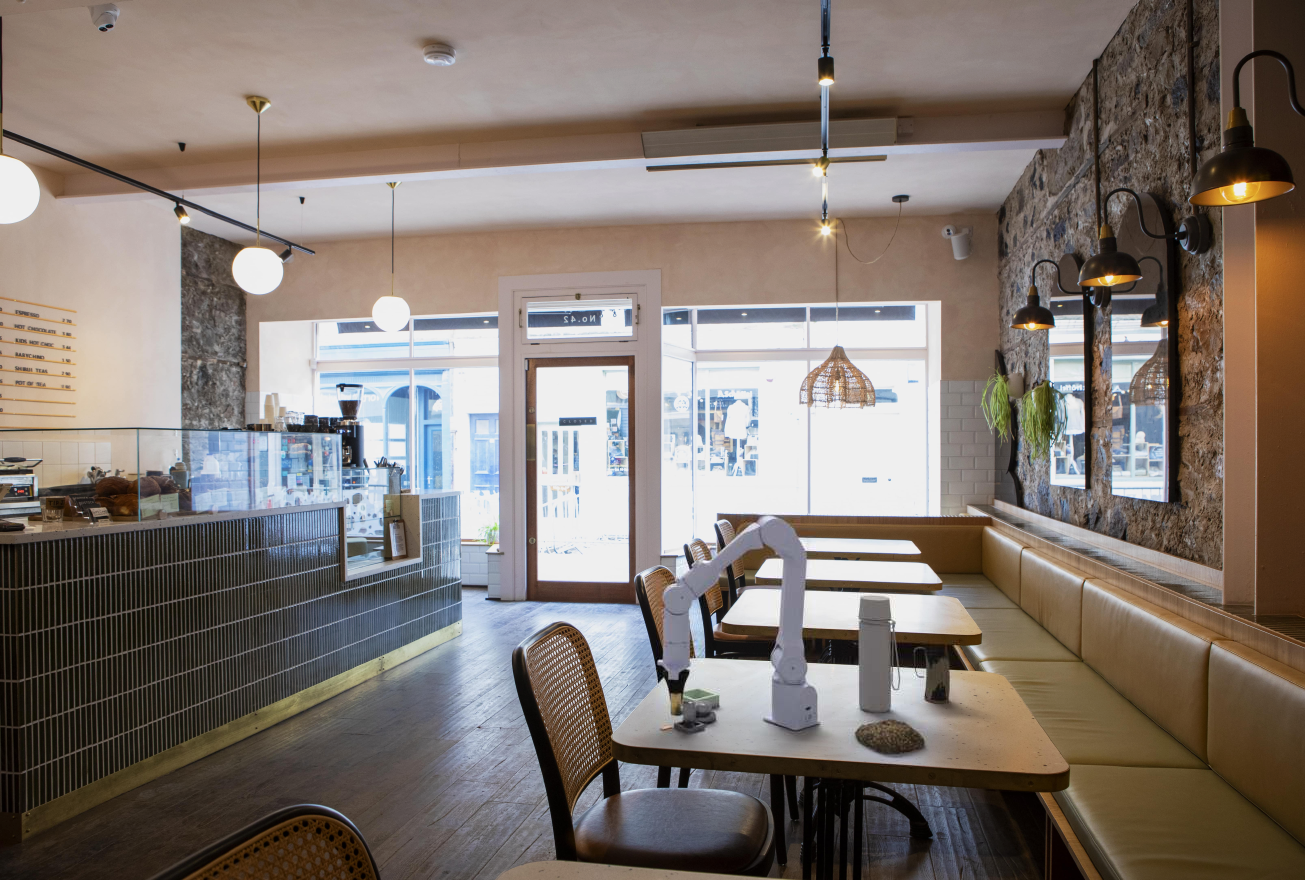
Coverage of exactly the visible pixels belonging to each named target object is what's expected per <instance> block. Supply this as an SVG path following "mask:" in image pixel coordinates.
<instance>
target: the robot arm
mask: <svg viewBox="0 0 1305 880" xmlns="http://www.w3.org/2000/svg"><path fill="white" fill-rule="evenodd" d="M763 544H765V545H766V546H767V547H770V548H771V549H772V550H773V551H774V553H776V554H777V555H778V556H779V557H780V558H781V559H782V561H783V563H782V575H781V577H782V578H781V590H780V591H781V594H780V608H779V624H778V633H777V636H776V639H775V646H774V648H773V650H772V651H771V653H770V663H771V665H772V667H773V668H774V669H775V670H774V672H773V674H772V675H771V714H770V715H766V716H763V717H762V719H763V720H764V721H766V722H770V723H772V724H775V725H779V726H780V727H781V726H782V727H784V728H787V729H789V730H793V731H798V730H802V729H806V728H809V727H811V726H812V727H813V726H815V725H819V724H820V723H821V721H820V720H818V692H817V689H816V688H815V687H814V686H813V685H811V684H809V683H808V681H807V679H806V675H807V673H808V670H809V669H808V668H809V667H808V662H807V660H806V658H805V645H804V639H803V625H804V609H805V608H804V607H805V592H806V591H805V590H806V577H807V564H808V563H807V562H808V560H807V559H808V554H807V551H806V549H805V547H804V546H803V543H802V542H801V539H800V538H799V536H798V535H797V533H796V530H795V528H794V527H792V526H791V525H790V524H789V523H788V522H786V521H785V520H784V519H782V518H778V517H777V516H774V515H771V514H767V515H763V516H762V517H759V519H758V520H757V521H756V522H753V523H751V524H750V525H748V526H747V527H746V528H745V529H744V530H742V531H741V532H740V533H739V534H738V535H737V536H735V538H733V539H732V540H731V541H730V542H729V543H728V544H727V545H726V546H724V548H722V549H721V550H720V551H719V552H718V553H717V554H716V555H714V557H713V558H712V559H710V560H704V559H703V560H700V561H699V562H697V561H694V562H693V563H692V564H691V569H689V570H688V571H687V572H686V573H684V574H683V575H682V576H681V577H676V578H675V579H674V581H675V583H672V584H669V585H667V587H665V588H664V591H663V594H662V596H661V598H662V599H661V600H662V602H663V604H664V611H663V617H664V618H663V621H662V622H663V625H662V631H663V632H662V635H663V636H662V642H663V643H662V651H663V652H662V659H659V660H657V665H658V666H662V667H663V668H664V670H663V671H662V676H663V679H664V681H665V683H666V686H667V690H668V695H669V700H670V703H671V693H672V692H680V693H681V703H682V699H683V692H684V691H685V687H686V683H687V681H688V679H689V676H690V673H691V669H689V668H690V667H691V666H692V665H691V659H690V658H691V656H690V655H691V650H690V649H691V646H690V645H691V633H690V632H691V620H690V609H691V607H692V603H693V601H696V600H698V599H699V598H700V597H701V596H702V595H704V594H705V593H707V591H708V590H710V589H711V588H712V587H713V586H714V585H716V583H718V582H719V580H720V573H721V572H722V571H723V570H725V569H726V568H727V567H729V566H730V565H731V564H733V562H735V561H736V560H737V559H739V558H740V557H742V555H744V554H745V553H746V552H748V551H751V550H759V549H760V550H761V549H764V545H763Z"/></svg>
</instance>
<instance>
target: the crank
mask: <svg viewBox="0 0 1305 880" xmlns="http://www.w3.org/2000/svg"><path fill="white" fill-rule="evenodd" d="M694 701H695V702H696V716H708V715H710V714H711V711H712V708H711V702H709V701H704V700H694ZM670 715H671V716H675V717H676V716H677V717H681V716H683V706H681V693H680V692H672V693H671V702H670Z"/></svg>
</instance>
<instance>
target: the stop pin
mask: <svg viewBox="0 0 1305 880" xmlns="http://www.w3.org/2000/svg"><path fill="white" fill-rule="evenodd" d="M682 721H683V726H685V727H688V728H690V727H694V726H696V702H695V701H684V702H683V715H682Z"/></svg>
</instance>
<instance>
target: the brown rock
mask: <svg viewBox="0 0 1305 880" xmlns="http://www.w3.org/2000/svg"><path fill="white" fill-rule="evenodd" d="M854 735H855V738H856V739H857V741H859V742H860V743H861V744H863V745H864V746H866V747H868V748H870V749H872V750H874V751H876V752H878V753H880V754H884V755H885V754H886V755H889V754H890V755H892V754H893V755H898V754H899V755H900V754H906V753H912V752H914V751H917V750H921V749H923V748H924V746H925V744H926V740H925V739H924V737H923V736H922V734H921V733H920V732H919V731H918V730H917V729H915V728H913V727H912V726H911V725H909V724H908V723H906V722H905V721H899V720H897V719H895V718H892V719H891V718H887V719H884V720H881V721H879V722H877V721H876V722H871V723H867V724H864V723H863V724H860V726H858V728H857V729H856V731H855V732H854Z"/></svg>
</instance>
